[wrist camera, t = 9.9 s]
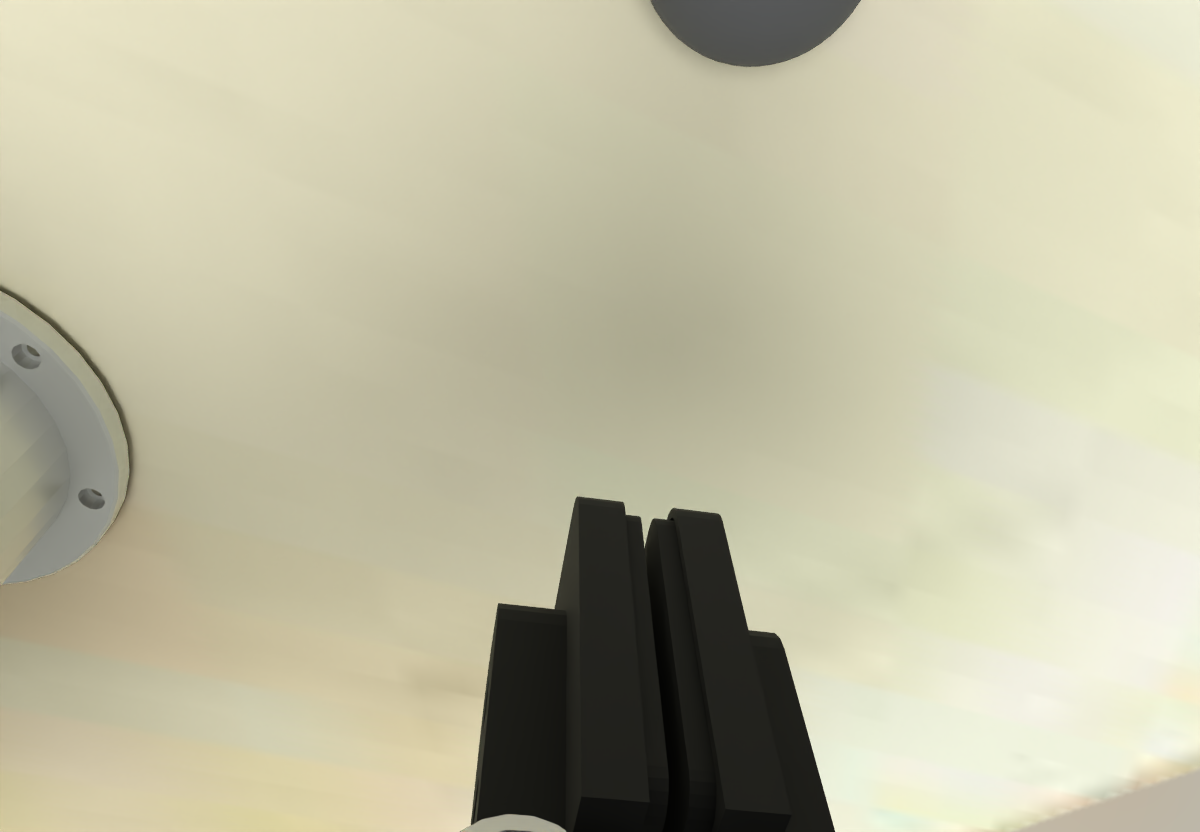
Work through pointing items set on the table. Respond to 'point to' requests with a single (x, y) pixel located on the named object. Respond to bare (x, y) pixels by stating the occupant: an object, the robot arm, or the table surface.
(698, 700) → the robot arm
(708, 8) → the dark grey ball
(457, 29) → the table surface
